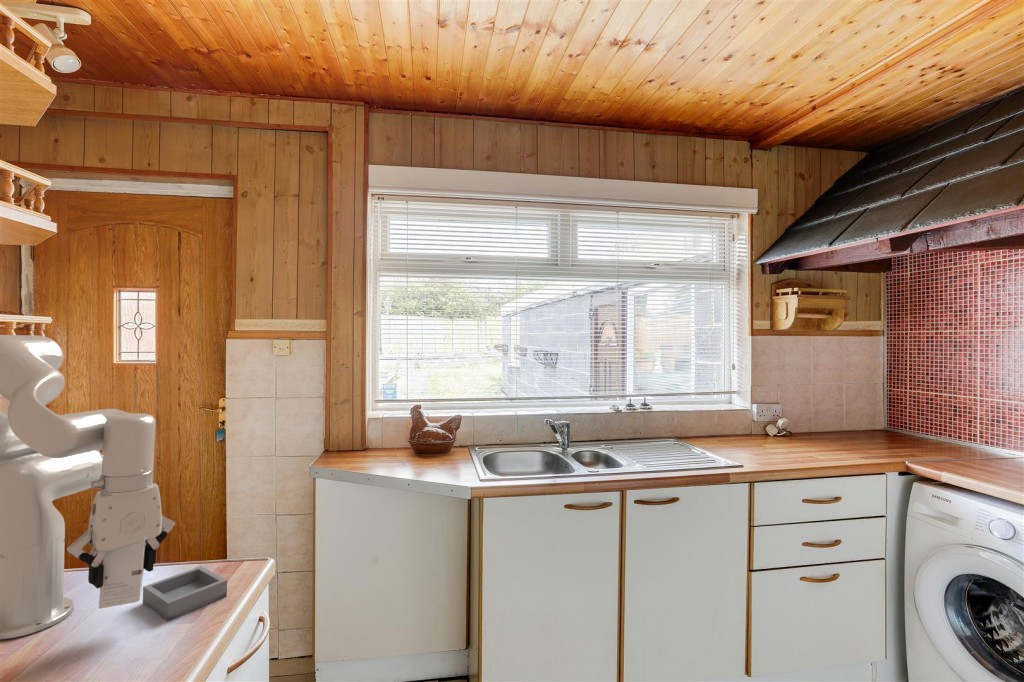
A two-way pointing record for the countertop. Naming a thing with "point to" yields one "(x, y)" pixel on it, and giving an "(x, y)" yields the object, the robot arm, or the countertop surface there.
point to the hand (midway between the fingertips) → (123, 576)
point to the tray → (184, 592)
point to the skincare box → (122, 575)
